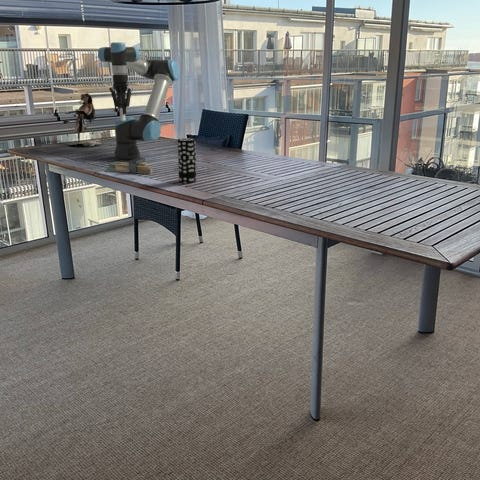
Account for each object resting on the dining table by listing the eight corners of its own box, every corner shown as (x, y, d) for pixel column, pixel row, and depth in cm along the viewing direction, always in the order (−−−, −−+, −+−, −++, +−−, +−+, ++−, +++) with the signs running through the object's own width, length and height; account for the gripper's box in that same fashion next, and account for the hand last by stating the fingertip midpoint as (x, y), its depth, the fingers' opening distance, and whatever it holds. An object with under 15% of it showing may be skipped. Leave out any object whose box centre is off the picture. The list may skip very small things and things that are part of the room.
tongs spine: (113, 169, 275) (113, 162, 273) (154, 172, 267) (153, 165, 266) (109, 170, 270) (108, 164, 269) (149, 174, 263) (149, 167, 262)
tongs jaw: (115, 168, 277) (115, 160, 275) (147, 170, 270) (147, 162, 269) (111, 169, 273) (110, 161, 272) (143, 172, 267) (143, 164, 265)
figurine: (73, 147, 364) (62, 96, 355) (107, 143, 366) (97, 92, 356) (65, 150, 340) (53, 96, 331) (101, 145, 341) (90, 91, 332)
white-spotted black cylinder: (193, 183, 243) (192, 141, 237) (176, 182, 245) (175, 140, 238) (198, 180, 251) (197, 138, 244) (182, 179, 252) (180, 137, 246)
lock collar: (138, 168, 274) (137, 157, 272) (145, 169, 273) (144, 158, 271) (129, 172, 265) (128, 160, 263) (136, 172, 264) (135, 161, 262)
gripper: (104, 74, 266) (108, 120, 274) (127, 74, 263) (130, 121, 270) (112, 73, 273) (116, 119, 281) (134, 74, 269) (137, 120, 277)
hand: (123, 120), depth 276 cm, fingers closed
